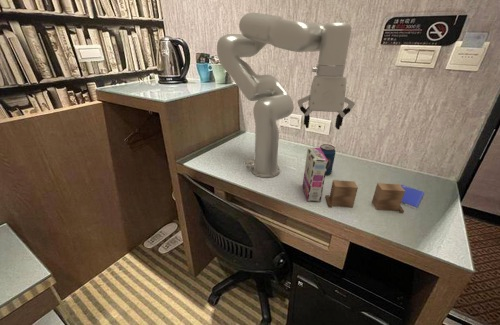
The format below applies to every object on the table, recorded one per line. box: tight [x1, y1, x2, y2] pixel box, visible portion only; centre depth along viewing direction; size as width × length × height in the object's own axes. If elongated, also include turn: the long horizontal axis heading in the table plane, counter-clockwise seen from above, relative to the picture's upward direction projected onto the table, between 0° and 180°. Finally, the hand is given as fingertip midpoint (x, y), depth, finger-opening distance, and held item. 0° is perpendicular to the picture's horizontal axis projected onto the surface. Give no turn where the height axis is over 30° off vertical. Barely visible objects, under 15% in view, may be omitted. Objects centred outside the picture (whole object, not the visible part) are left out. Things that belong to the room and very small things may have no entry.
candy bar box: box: [302, 147, 328, 203], centre depth 85 cm, size 11×5×16 cm, turn 178°
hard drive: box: [400, 184, 425, 210], centre depth 88 cm, size 2×8×12 cm
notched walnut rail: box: [325, 179, 405, 214], centre depth 81 cm, size 24×6×8 cm, turn 84°
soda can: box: [319, 143, 336, 176], centre depth 101 cm, size 7×7×12 cm
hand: (321, 127), depth 77 cm, fingers open, 9 cm apart
